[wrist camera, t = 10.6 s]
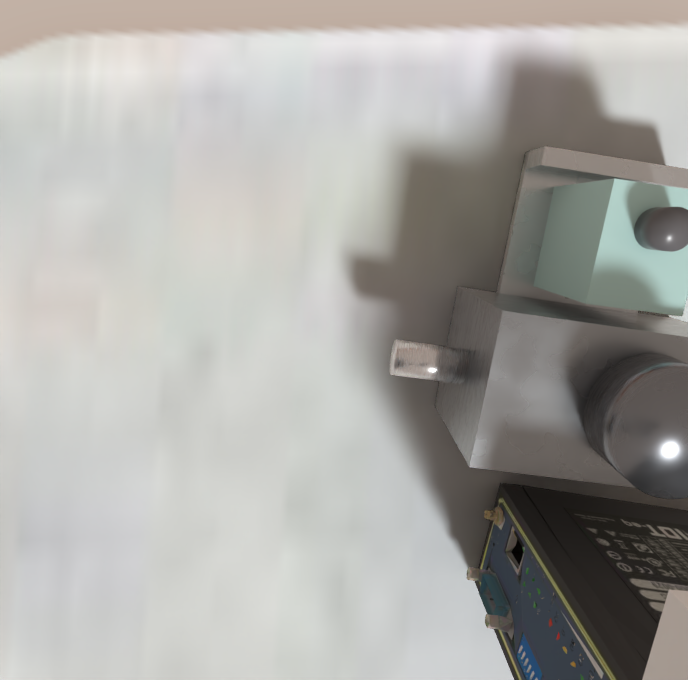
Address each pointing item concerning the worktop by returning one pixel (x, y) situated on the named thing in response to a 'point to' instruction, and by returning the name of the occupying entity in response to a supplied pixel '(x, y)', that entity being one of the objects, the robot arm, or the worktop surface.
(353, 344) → the worktop surface
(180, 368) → the worktop surface
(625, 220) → the block
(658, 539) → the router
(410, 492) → the worktop surface
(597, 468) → the motor
